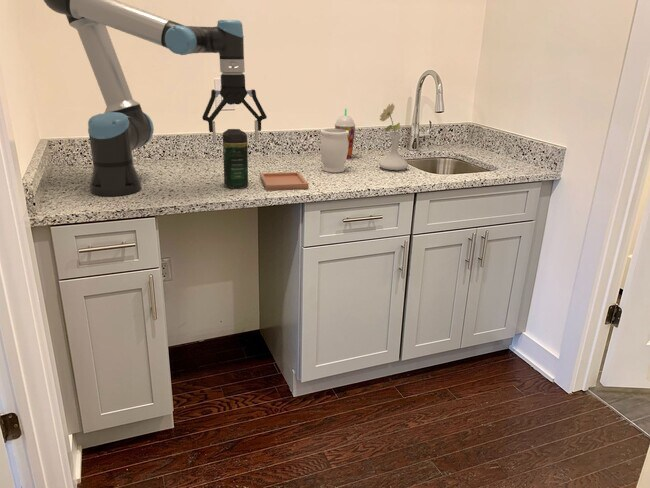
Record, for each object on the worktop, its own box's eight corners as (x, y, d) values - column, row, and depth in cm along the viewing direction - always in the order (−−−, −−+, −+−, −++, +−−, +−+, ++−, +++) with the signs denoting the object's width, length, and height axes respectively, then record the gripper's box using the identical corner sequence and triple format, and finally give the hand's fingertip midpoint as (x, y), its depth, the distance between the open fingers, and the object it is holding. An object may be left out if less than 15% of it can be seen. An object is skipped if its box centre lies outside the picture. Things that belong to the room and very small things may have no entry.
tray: (266, 190, 174) (266, 185, 174) (260, 178, 189) (259, 173, 188) (308, 189, 177) (308, 183, 177) (298, 176, 192) (298, 172, 191)
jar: (314, 169, 202) (314, 130, 197) (332, 165, 209) (333, 127, 204) (334, 175, 196) (336, 134, 190) (352, 170, 203) (354, 131, 197)
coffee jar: (249, 188, 176) (248, 132, 169) (225, 189, 174) (223, 132, 167) (246, 181, 185) (245, 127, 178) (223, 182, 183) (221, 127, 176)
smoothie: (332, 155, 227) (334, 107, 220) (352, 155, 228) (354, 107, 221) (335, 159, 219) (336, 110, 212) (355, 159, 220) (357, 110, 213)
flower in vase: (394, 164, 215) (399, 100, 206) (413, 170, 206) (419, 104, 197) (369, 167, 208) (372, 101, 199) (387, 174, 199) (392, 105, 190)
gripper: (191, 74, 160) (197, 145, 168) (274, 74, 166) (275, 142, 173) (191, 72, 167) (196, 140, 174) (270, 72, 172) (272, 138, 180)
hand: (235, 141), depth 174 cm, fingers open, 13 cm apart
